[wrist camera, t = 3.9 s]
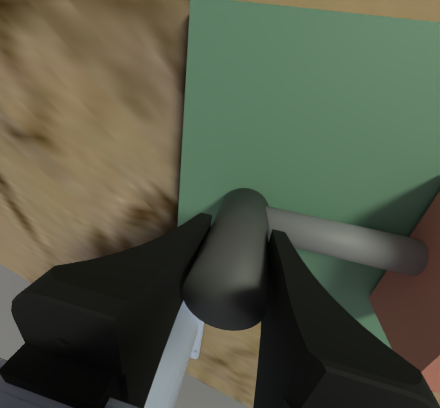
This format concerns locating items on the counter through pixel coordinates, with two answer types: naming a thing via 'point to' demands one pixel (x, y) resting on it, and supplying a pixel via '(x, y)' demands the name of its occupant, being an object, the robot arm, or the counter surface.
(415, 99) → the board
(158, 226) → the counter surface
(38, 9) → the counter surface
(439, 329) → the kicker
